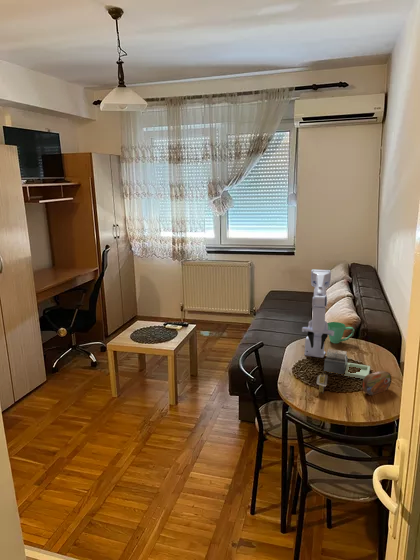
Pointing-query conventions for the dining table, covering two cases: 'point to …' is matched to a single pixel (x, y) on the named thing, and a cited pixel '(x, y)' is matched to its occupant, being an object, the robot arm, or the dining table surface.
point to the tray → (361, 374)
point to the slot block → (335, 366)
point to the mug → (338, 331)
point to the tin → (376, 382)
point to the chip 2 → (341, 356)
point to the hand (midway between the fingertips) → (317, 347)
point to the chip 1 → (331, 354)
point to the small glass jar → (322, 382)
